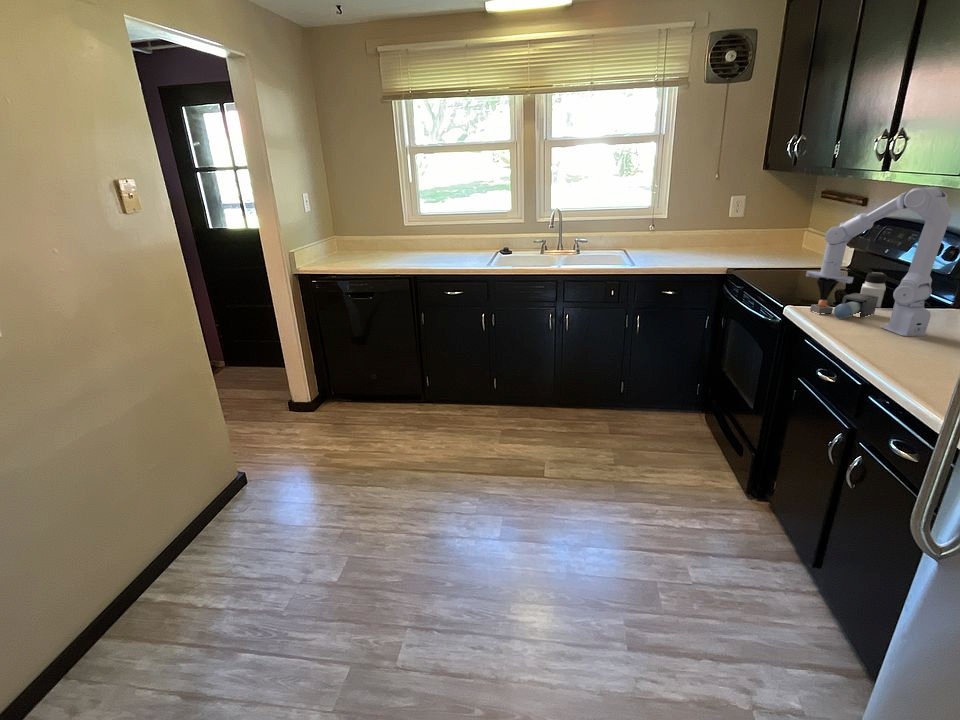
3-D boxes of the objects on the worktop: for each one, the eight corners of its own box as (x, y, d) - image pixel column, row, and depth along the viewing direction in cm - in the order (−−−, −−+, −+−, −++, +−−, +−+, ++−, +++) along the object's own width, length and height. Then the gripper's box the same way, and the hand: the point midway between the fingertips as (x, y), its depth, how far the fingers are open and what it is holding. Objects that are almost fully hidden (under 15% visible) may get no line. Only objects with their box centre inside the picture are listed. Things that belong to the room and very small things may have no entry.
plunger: (827, 309, 184) (829, 301, 183) (820, 309, 184) (822, 301, 182) (822, 307, 186) (824, 299, 185) (815, 307, 186) (817, 299, 185)
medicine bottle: (880, 308, 190) (889, 276, 185) (857, 305, 194) (865, 273, 190) (881, 303, 195) (889, 272, 191) (858, 301, 199) (866, 270, 195)
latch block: (831, 314, 183) (833, 307, 182) (818, 314, 183) (820, 308, 182) (822, 310, 188) (824, 304, 187) (809, 310, 188) (811, 304, 187)
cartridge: (853, 309, 186) (856, 296, 185) (868, 312, 182) (872, 299, 181) (832, 316, 179) (835, 302, 177) (848, 319, 175) (851, 305, 173)
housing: (850, 309, 188) (855, 292, 186) (873, 314, 182) (878, 296, 180) (839, 313, 184) (843, 296, 182) (862, 318, 178) (867, 300, 176)
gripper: (861, 263, 175) (851, 302, 180) (816, 257, 186) (808, 294, 191) (851, 265, 171) (841, 305, 176) (806, 259, 183) (798, 296, 188)
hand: (823, 299), depth 184 cm, fingers closed
